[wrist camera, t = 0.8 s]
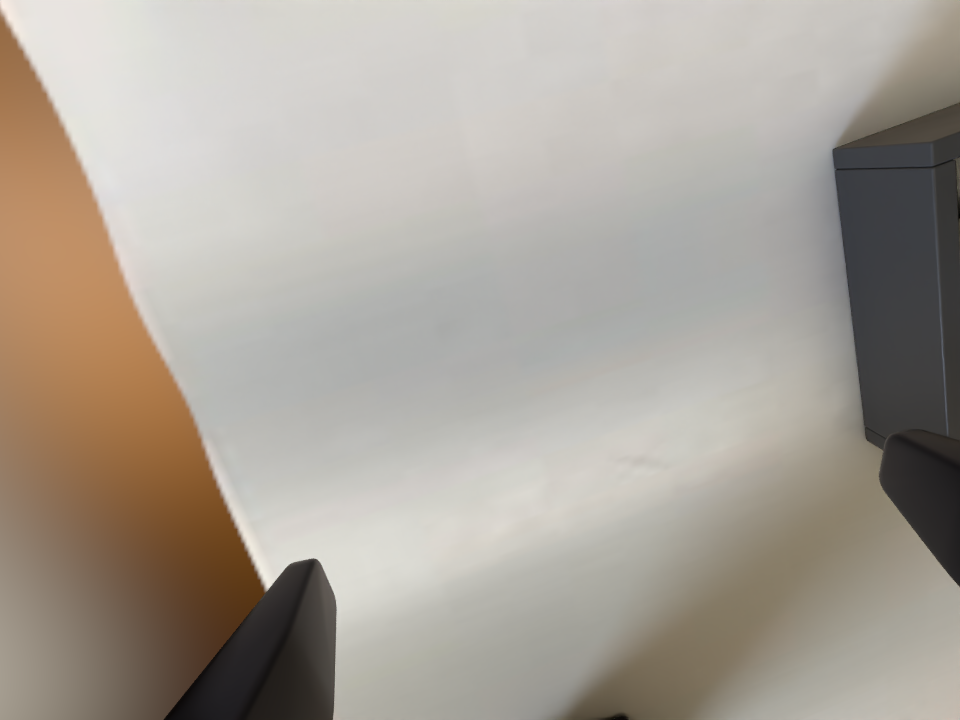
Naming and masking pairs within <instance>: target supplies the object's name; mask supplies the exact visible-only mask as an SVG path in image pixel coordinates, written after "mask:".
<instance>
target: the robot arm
mask: <svg viewBox="0 0 960 720" xmlns="http://www.w3.org/2000/svg"><path fill="white" fill-rule="evenodd" d="M879 480H880V483H881V486H882V488H883V490H884V491H885V493H886V494H887V495H888V497H889V498H890V499H891V501H892V502H893V503H894V505H895V506H896V507H897V508H898V510H899V511H900V512H901V514H902V515H903V516H904V518H905V519H906V520H907V521H908V523H909V524H910V525H911V527H912V528H913V529H914V530H915V532H916V533H917V534H918V536H919V537H920V538H921V540H922V541H923V542H924V543H925V545H926V546H927V547H928V549H929V550H930V551H931V553H932V554H933V555H934V556H935V558H936V559H937V560H938V562H939V563H940V564H941V565H942V567H943V568H944V569H945V570H946V571H947V573H948V574H949V575H950V576H951V578H952V579H953V580H954V581H955V582H956V583H957V584H958V585H959V587H960V440H957V439H953V438H950V437H946V436H943V435H939V434H936V433H933V432H929V431H926V430H922V429H910V430H906V431H901V432H897V433H893V434H891V435H889V436H888V437H887V439H886V441H885V445H884V450H883V455H882V461H881V466H880V471H879ZM335 647H336V600H335V596H334V593H333V590H332V588H331V586H330V584H329V581H328V579H327V577H326V574H325V572H324V570H323V568H322V565H321V563H320V562H319V561H318V560H317V559H308V560H303V561H298V562H294V563H291V564H290V565H289V566H287V567H286V569H285V570H284V571H283V572H282V574H281V575H280V576H279V577H278V578H277V580H276V581H275V582H274V583H273V585H272V586H271V587H270V588H269V590H268V591H267V592H266V593H265V595H264V596H263V597H262V598H261V600H260V601H259V602H258V603H257V605H256V606H255V607H254V608H253V609H252V611H251V612H250V613H249V614H248V616H247V617H246V618H245V619H244V621H243V622H242V623H241V624H240V626H239V627H238V628H237V629H236V631H235V632H234V633H233V634H232V636H231V637H230V638H229V639H228V640H227V642H226V643H225V644H224V645H223V647H222V648H221V649H220V650H219V652H218V653H217V654H216V655H215V657H214V658H213V659H212V660H211V662H210V663H209V664H208V665H207V666H206V668H205V669H204V670H203V671H202V673H201V674H200V675H199V676H198V678H197V679H196V680H195V681H194V683H193V684H192V685H191V686H190V688H189V689H188V690H187V691H186V692H185V694H184V695H183V696H182V697H181V699H180V700H179V701H178V702H177V704H176V705H175V706H174V707H173V709H172V710H171V711H170V712H169V714H168V715H167V716H166V717H165V719H164V720H333V712H334V687H335ZM612 720H629V719H628V718H626V717H618V718H615V719H612Z"/></svg>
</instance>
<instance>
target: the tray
mask: <svg viewBox="0 0 960 720" xmlns="http://www.w3.org/2000/svg"><path fill="white" fill-rule="evenodd" d="M833 157H834V166H835V169H836V170H835V174H836V183H837V191H838V200H839V208H840V217H841V226H842V234H843V243H844V251H845V260H846V268H847V277H848V286H849V294H850V303H851V311H852V320H853V329H854V337H855V346H856V354H857V363H858V372H859V380H860V389H861V397H862V406H863V415H864V423H865V426H866V427H865V430H866V439H867V441H869V442H870V443H872V444H874V445H875V446H877V447H879V448H880V449H882V450H884V445H885V441H886V439H887V437H888V436H889V435H891V434H893V433H897V432H901V431H906V430H910V429H922V430H926V431H929V432H933V433H936V434H939V435H943V436H946V437H950V438H953V439H957V440H960V245H959V222H958V199H957V177H956V161H955V160H953V159H956V158H958V157H960V103H958V104H955V105H953V106H950V107H947V108H944V109H942V110H939V111H936V112H933V113H931V114H928V115H925V116H922V117H920V118H917V119H914V120H911V121H909V122H906V123H903V124H900V125H898V126H895V127H892V128H889V129H887V130H884V131H881V132H878V133H876V134H873V135H870V136H867V137H865V138H862V139H859V140H856V141H854V142H851V143H848V144H845V145H843V146H840V147H837V148H835V149H833Z"/></svg>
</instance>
